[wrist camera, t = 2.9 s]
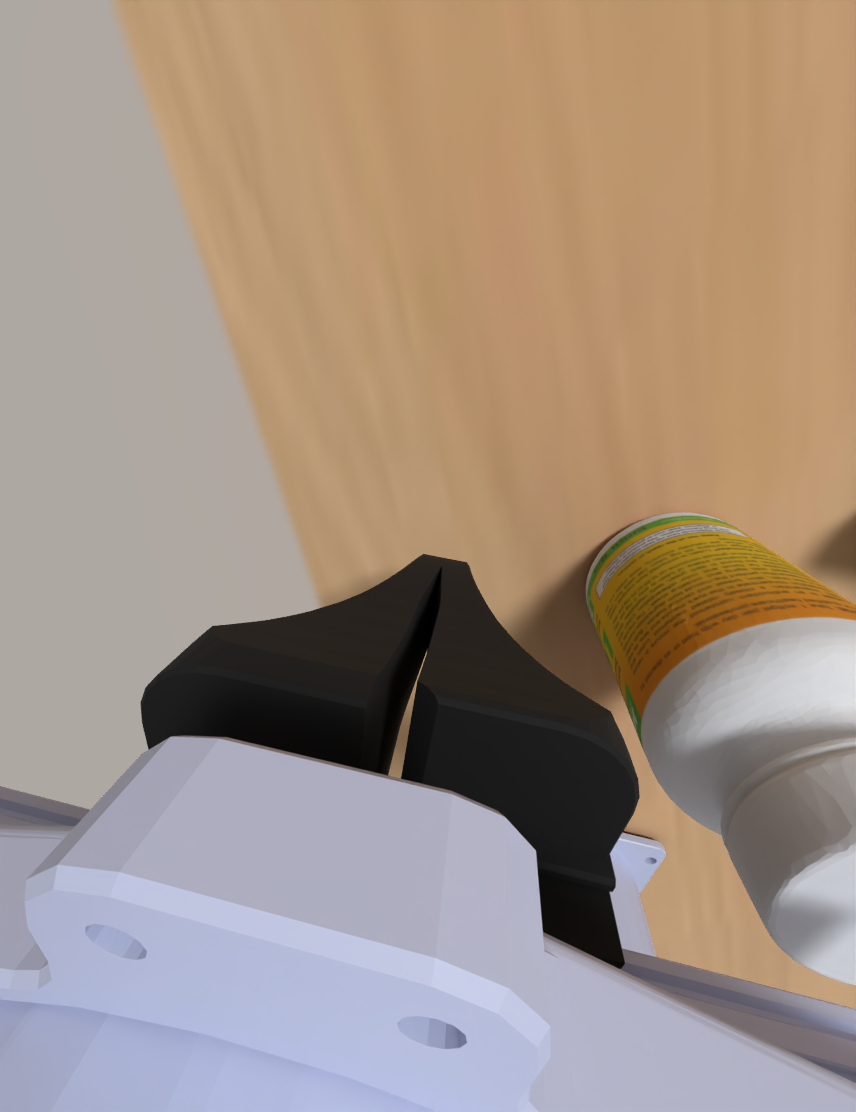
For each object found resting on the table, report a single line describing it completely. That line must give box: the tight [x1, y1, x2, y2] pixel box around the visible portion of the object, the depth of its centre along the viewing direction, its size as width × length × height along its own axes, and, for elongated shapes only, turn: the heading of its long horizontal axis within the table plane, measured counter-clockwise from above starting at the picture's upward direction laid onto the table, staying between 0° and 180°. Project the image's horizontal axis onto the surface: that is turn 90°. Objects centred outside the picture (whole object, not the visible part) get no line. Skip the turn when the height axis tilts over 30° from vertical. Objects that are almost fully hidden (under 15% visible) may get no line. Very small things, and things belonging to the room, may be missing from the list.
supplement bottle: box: [586, 512, 856, 985], centre depth 10 cm, size 5×5×10 cm
